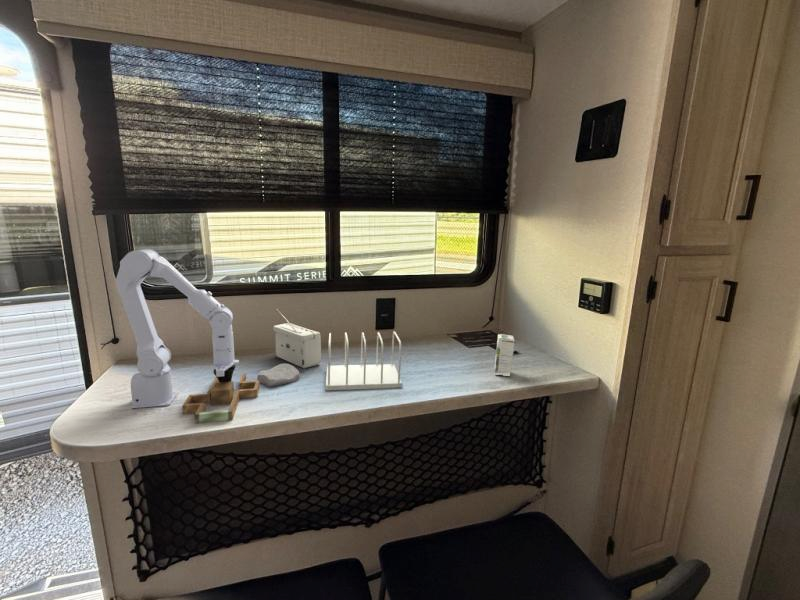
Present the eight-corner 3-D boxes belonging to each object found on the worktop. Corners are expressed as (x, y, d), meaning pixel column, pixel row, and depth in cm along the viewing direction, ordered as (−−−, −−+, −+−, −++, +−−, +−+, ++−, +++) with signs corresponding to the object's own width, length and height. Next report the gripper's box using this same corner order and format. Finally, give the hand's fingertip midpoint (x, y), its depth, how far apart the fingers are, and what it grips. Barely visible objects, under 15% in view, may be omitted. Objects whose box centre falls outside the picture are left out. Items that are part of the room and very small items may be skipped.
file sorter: (325, 391, 118) (325, 344, 115) (326, 371, 134) (326, 330, 131) (402, 388, 122) (403, 343, 119) (394, 368, 139) (395, 329, 136)
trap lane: (175, 425, 95) (175, 416, 94) (202, 383, 120) (201, 376, 120) (252, 417, 100) (252, 409, 99) (261, 379, 125) (261, 372, 125)
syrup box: (494, 370, 140) (497, 333, 137) (510, 371, 138) (513, 335, 136) (494, 376, 134) (497, 337, 131) (511, 377, 133) (514, 339, 130)
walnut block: (211, 405, 106) (210, 390, 105) (216, 396, 111) (215, 382, 110) (230, 403, 107) (229, 389, 106) (234, 395, 113) (233, 381, 112)
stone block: (302, 383, 127) (285, 370, 133) (303, 371, 126) (286, 359, 131) (272, 395, 118) (255, 381, 124) (272, 383, 117) (255, 369, 122)
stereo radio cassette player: (322, 365, 140) (321, 314, 136) (303, 370, 134) (302, 317, 130) (290, 352, 153) (289, 305, 149) (272, 357, 147) (271, 308, 143)
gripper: (233, 354, 105) (236, 398, 107) (241, 340, 119) (243, 379, 121) (206, 356, 103) (210, 401, 106) (217, 341, 117) (220, 381, 119)
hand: (226, 389), depth 113 cm, fingers closed
